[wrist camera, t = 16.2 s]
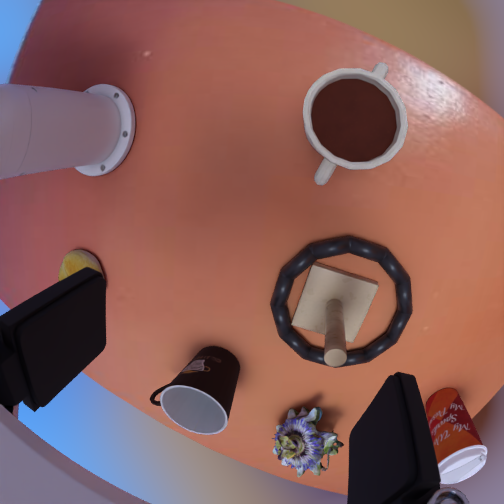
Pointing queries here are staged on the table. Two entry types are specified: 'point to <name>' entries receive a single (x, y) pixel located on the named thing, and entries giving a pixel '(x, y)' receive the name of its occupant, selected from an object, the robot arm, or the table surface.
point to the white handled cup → (354, 120)
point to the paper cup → (454, 437)
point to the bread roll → (77, 263)
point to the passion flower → (304, 441)
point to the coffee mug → (202, 392)
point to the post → (334, 308)
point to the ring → (329, 250)
